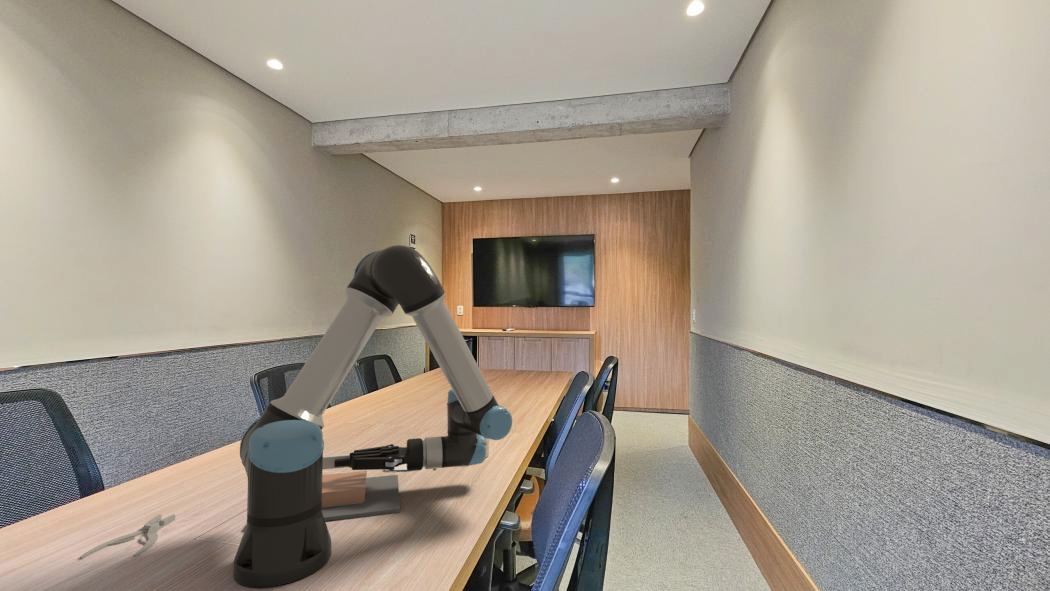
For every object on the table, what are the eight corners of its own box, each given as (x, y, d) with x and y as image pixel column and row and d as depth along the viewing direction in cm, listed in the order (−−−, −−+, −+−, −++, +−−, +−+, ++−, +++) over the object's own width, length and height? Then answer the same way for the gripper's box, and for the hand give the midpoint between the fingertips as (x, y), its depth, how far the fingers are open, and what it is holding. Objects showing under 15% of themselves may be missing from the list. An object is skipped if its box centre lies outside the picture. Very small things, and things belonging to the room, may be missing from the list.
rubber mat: (400, 512, 99) (400, 508, 99) (245, 531, 90) (245, 527, 90) (397, 477, 120) (397, 474, 120) (271, 490, 111) (271, 487, 111)
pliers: (78, 552, 80) (142, 514, 95) (77, 561, 80) (142, 522, 95) (137, 549, 81) (191, 513, 96) (137, 558, 81) (191, 520, 96)
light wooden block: (364, 488, 102) (275, 497, 97) (364, 503, 102) (275, 514, 97) (366, 470, 114) (287, 478, 108) (366, 484, 113) (286, 492, 108)
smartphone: (411, 473, 125) (420, 454, 141) (411, 469, 125) (420, 451, 141) (382, 473, 125) (395, 455, 141) (382, 470, 125) (395, 452, 141)
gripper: (425, 478, 106) (315, 489, 99) (421, 461, 118) (323, 470, 111) (425, 445, 106) (315, 454, 99) (421, 431, 118) (323, 439, 111)
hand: (319, 462), depth 105 cm, fingers closed
